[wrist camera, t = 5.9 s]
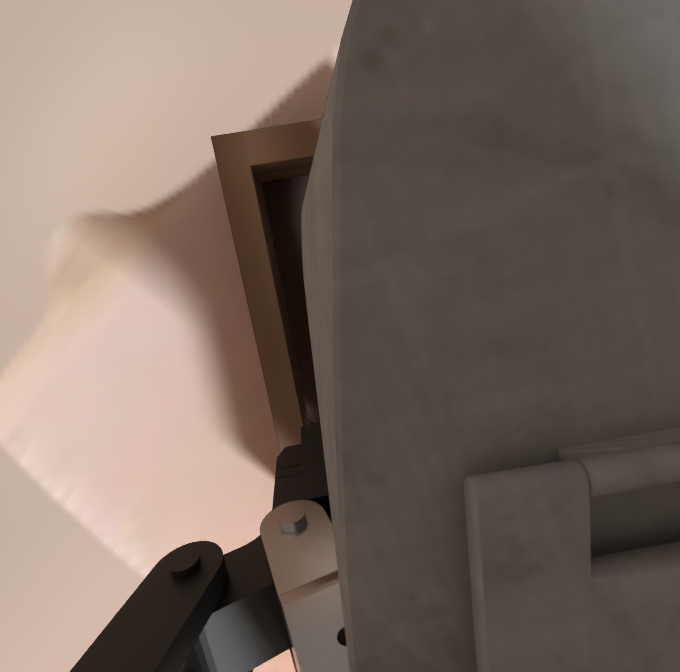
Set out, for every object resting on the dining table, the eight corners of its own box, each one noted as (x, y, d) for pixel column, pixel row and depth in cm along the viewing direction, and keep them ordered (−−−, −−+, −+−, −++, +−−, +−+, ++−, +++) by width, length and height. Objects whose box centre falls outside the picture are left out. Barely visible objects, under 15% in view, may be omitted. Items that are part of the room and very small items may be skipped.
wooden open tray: (388, 136, 22) (421, 103, 16) (431, 477, 27) (468, 544, 22) (233, 160, 22) (210, 136, 16) (305, 503, 27) (308, 579, 21)
